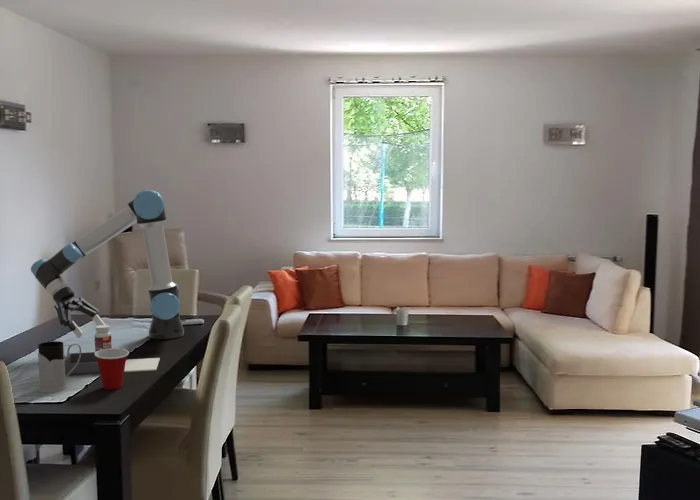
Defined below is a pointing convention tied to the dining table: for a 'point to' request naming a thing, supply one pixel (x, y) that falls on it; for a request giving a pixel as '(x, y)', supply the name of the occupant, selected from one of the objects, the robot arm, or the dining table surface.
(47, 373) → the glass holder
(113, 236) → the robot arm
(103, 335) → the pill bottle
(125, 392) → the dining table surface
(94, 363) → the mailer box
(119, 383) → the plastic cup
